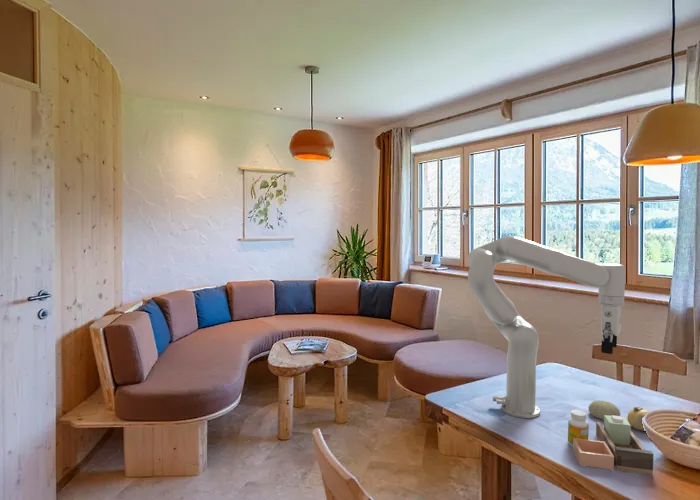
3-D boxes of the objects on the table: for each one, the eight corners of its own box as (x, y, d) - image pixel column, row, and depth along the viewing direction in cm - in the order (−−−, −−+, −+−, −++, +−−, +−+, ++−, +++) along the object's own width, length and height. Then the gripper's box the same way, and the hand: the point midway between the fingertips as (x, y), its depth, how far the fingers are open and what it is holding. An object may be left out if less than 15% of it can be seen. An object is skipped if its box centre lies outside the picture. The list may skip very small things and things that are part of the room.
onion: (643, 422, 142) (644, 401, 142) (664, 434, 134) (664, 412, 134) (621, 424, 141) (622, 403, 140) (641, 436, 133) (642, 413, 133)
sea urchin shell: (590, 402, 154) (608, 390, 150) (607, 422, 150) (627, 411, 146) (582, 409, 147) (601, 398, 143) (599, 431, 144) (619, 420, 139)
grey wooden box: (652, 474, 113) (653, 454, 112) (616, 469, 115) (617, 449, 115) (626, 437, 132) (627, 420, 131) (595, 434, 134) (596, 416, 134)
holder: (579, 465, 117) (580, 452, 117) (572, 449, 125) (573, 437, 125) (613, 469, 115) (614, 456, 115) (604, 453, 123) (605, 441, 123)
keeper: (629, 445, 125) (630, 422, 124) (609, 442, 126) (609, 420, 126) (623, 436, 130) (624, 414, 129) (603, 434, 131) (604, 412, 131)
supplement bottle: (563, 441, 130) (564, 409, 130) (578, 438, 132) (579, 407, 131) (576, 450, 125) (577, 417, 124) (592, 447, 126) (593, 415, 126)
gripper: (620, 305, 137) (618, 358, 138) (627, 297, 150) (625, 346, 151) (594, 302, 141) (592, 353, 142) (602, 295, 155) (600, 342, 156)
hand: (609, 349), depth 147 cm, fingers open, 9 cm apart
